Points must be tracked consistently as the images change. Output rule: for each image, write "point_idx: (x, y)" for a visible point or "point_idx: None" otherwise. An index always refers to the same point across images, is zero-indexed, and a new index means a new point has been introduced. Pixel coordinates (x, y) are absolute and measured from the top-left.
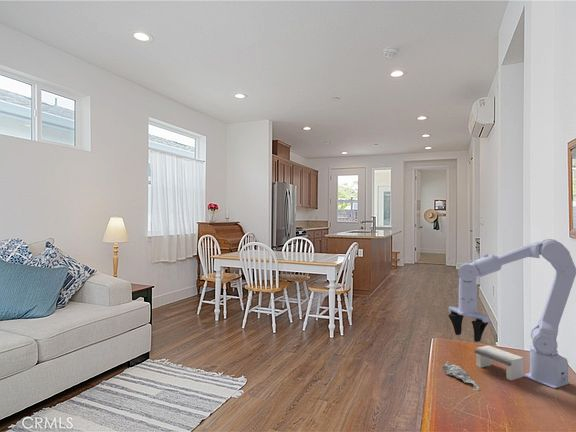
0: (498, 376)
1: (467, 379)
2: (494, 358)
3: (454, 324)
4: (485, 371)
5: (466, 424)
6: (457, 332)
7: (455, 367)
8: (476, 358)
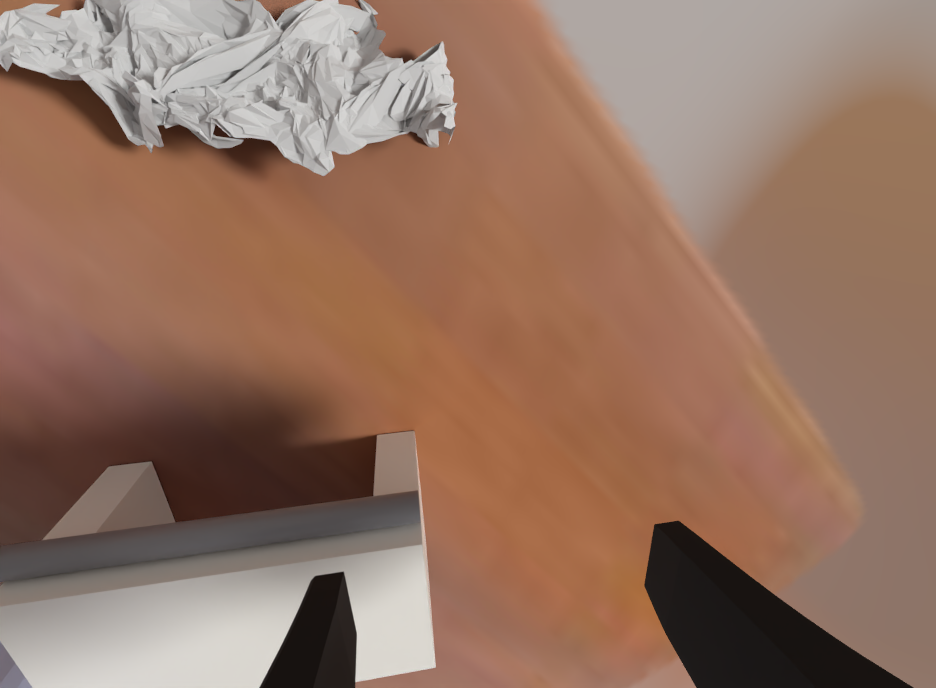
0: (200, 438)
1: (104, 60)
2: (172, 532)
3: (820, 672)
4: (309, 419)
5: None
6: (675, 565)
7: (318, 110)
8: (416, 469)
